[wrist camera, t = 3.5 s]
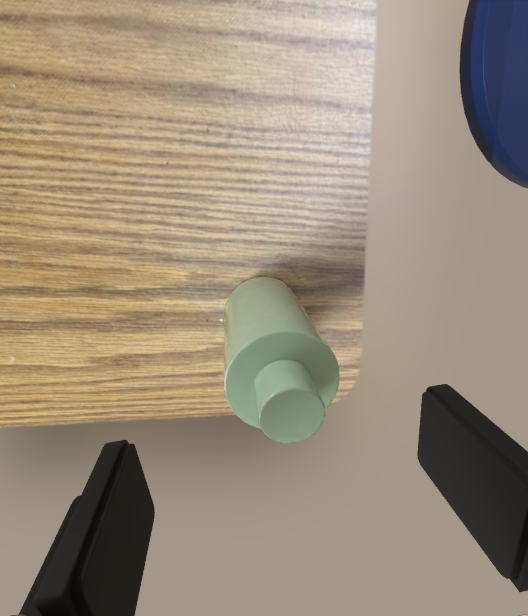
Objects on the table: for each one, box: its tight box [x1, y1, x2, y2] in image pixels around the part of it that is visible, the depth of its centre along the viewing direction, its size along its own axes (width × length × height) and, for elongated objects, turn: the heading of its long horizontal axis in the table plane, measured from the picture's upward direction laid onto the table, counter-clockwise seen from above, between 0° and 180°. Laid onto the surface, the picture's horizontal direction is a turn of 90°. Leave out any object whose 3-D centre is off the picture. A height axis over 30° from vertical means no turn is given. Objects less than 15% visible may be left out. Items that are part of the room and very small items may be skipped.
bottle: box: [224, 277, 339, 443], centre depth 16 cm, size 5×5×10 cm
